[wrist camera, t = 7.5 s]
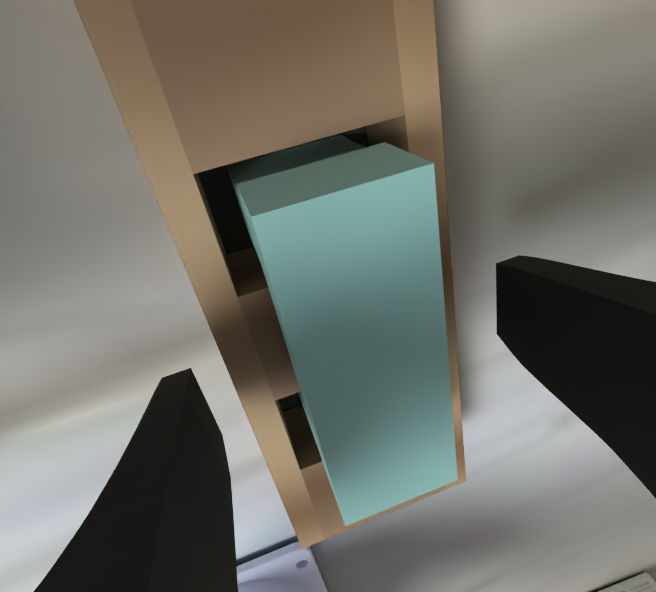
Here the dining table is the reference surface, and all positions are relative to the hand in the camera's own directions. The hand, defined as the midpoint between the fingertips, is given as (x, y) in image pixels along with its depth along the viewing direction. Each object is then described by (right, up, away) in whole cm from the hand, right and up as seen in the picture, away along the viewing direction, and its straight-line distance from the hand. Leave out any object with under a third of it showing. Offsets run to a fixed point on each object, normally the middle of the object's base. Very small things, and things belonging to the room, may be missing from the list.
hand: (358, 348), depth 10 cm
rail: (-1, +2, +3) cm, 4 cm away
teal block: (-1, +2, +3) cm, 4 cm away
